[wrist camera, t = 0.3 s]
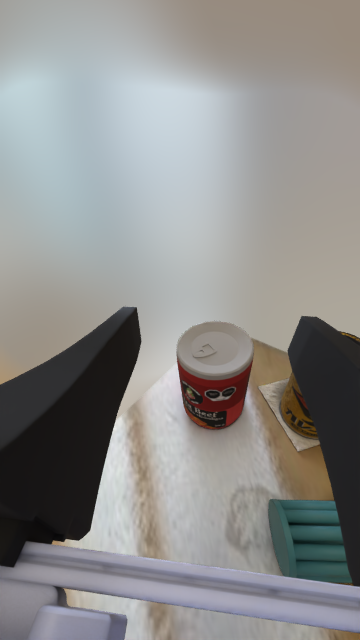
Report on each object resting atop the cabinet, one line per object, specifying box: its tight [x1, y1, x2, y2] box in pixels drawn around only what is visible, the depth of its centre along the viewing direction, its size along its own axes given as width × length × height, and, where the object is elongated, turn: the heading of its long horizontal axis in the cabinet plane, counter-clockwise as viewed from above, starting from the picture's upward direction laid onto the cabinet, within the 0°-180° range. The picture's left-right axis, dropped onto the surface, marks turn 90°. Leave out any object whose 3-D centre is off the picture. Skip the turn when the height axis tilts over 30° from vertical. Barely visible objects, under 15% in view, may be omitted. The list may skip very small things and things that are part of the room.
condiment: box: [258, 331, 360, 451], centre depth 24 cm, size 7×8×12 cm
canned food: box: [177, 321, 254, 429], centre depth 26 cm, size 8×8×11 cm
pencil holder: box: [268, 499, 353, 583], centre depth 17 cm, size 7×6×5 cm
